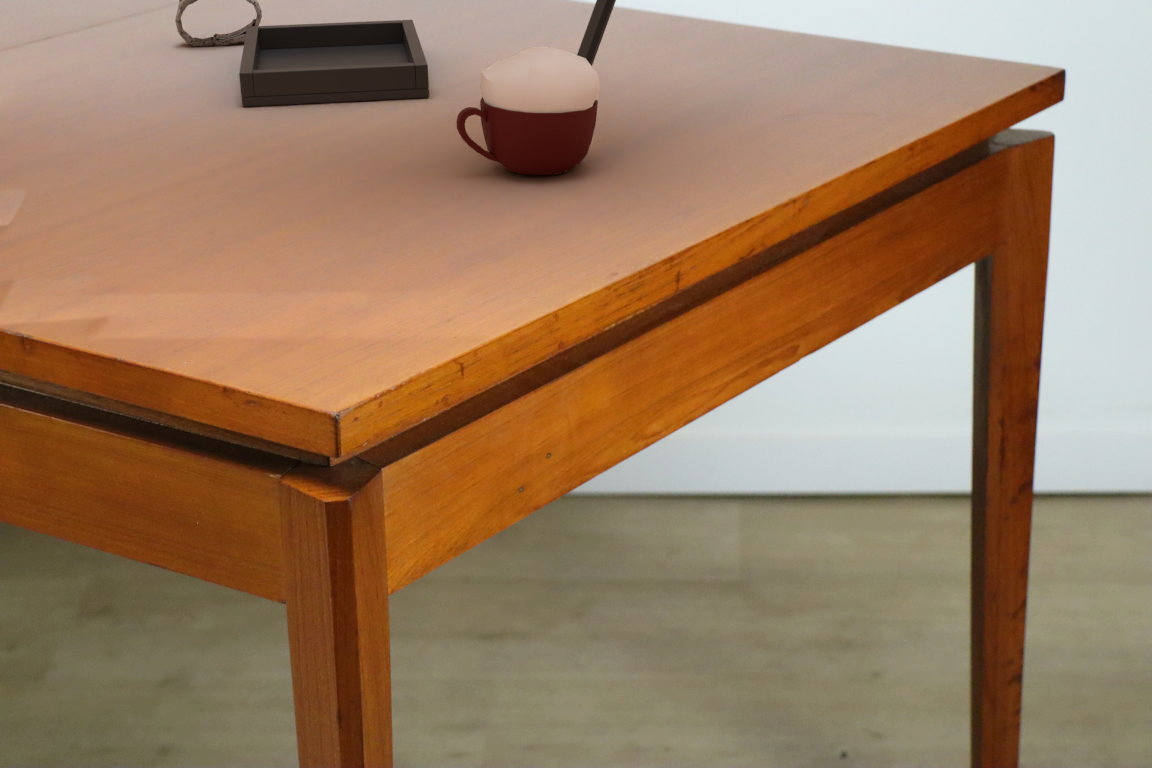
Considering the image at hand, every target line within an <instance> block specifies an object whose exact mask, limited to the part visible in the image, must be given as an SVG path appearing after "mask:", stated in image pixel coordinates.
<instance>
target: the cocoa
mask: <svg viewBox="0 0 1152 768" xmlns="http://www.w3.org/2000/svg"><path fill="white" fill-rule="evenodd" d="M616 1H617V0H596V1H595V4H594V7H593V10H592V13H591V15H590V18H589V20H588V24H587V26H586V29H585V32H584V35H583V37H582V39H581V43H580V46H579V49H578V51H577V54H575V53H572V52H569V51H567V50H564V49H560V48H557V47H552V46H549V45H546V46H541V45H538V46H537V45H536V46H531V47H526V48H523V49H521V50H520V51H518V52H517V53H515V54H514V55H513V56H509V57H506V58H503V59H499V60H496V61H495V62H494V63H493V64H491V65H488V67H486V68H484V69H483V70H481V71H480V82H479V89H480V93H481V96H482V97H481V99H480V100H479V107H480V109H479V108H478V107H473V106H468V107H464V108H463V109H461V110H460V112H459V113H458V114H457V116H456V117H457V118H456V130H457V132H458V134H459V137H460V138H461V140H462V141H464V143H465V144H467V146H468V147H469V148H471V149H472V150H473V151H474V152H476V153H477V154H478V155H480V156H482V157H484V158H485V159H487V160H489V161H493V162H496V163H498V164H499V165H501V166H502V167H503V168H505V170H507V171H510V172H513V173H516V174H521V175H529V176H553V175H560V174H561V175H562V174H565V173H566V172H570V171H571V170H572V169H574V168H576V167H577V166H578V165H580V164H581V163H582V162H583V160H584V159H585V158H586V156H587V155H588V153H589V149H590V147H591V145H592V141H593V137H594V133H595V129H596V124H597V114H598V103H599V101H598V100H597V98H598V96H599V94H600V91H601V89H600V88H601V83H600V79H599V75H598V72H597V71H596V70H595V68H594V67H593V64H594V61H595V58H596V56H597V54H598V51H599V48H600V46H601V42H602V39H603V38H604V34H605V32H606V29H607V26H608V24H609V20H610V18H611V15H612V12H613V10H614V7H615V4H616ZM471 116H477V117H480V124H481V128H482V133H483V138H484V141H485V145H486V149H487V150H485V149H484V148H483V147H482V146H480V145H479V144H478V143H477V142H475V140H473V139H472V138H471V137H470V135H469V134H468V132H467V130H466V121H467V119H468V118H469V117H471Z"/></svg>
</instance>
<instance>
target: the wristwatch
mask: <svg viewBox="0 0 1152 768" xmlns="http://www.w3.org/2000/svg"><path fill="white" fill-rule="evenodd" d="M245 1H246V2H247V3H249V4H251V5H253V8H254V10H255V12H256V13H255V14H256V17H255V18H253V19H252V20H251V22H249V23H248V24H246V25H245V26H243V27H242V28H240V29H237V30H235V31H233V32H229V33H228V32H227V33H214V34H213V36H210V37H206V38H199V37H192V36H191V34H189V33H188V32H187V31H186V30H184V28H183V24H182V15H183V13H184V12H185V10H186V9H187V7H188V6H190V5H192V4H194V3H196V2H198V0H179V1H178V5H177V10H176V15H175V20H174V21H175V26H176V29H177V32H178V34H179V36H180V37H181V38H182V39H183V40H184V41H185V42H186V43H187V44H189V45H191V46H192V47H193V48H194V47H213V46H215V47H217V46H219V47H220V46H222V47H223V46H230V45H231V46H233V45H238V44H241V43H244V42H245V37H246V31H247V27H249V26H258V27H259V26H260V23H261V21H262V17H263V13H262V12H263V11H262V8H261V6H260V4H259V2H258V0H245Z"/></svg>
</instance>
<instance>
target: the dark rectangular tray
mask: <svg viewBox="0 0 1152 768" xmlns="http://www.w3.org/2000/svg"><path fill="white" fill-rule="evenodd" d="M243 43H244V44H243V50H242V55H241V61H240V67H239V73H238V76H239V85H240V95H241V104H242V107H243V108H246V107H247V108H248V107H266V106H283V105H284V106H288V105H305V104H306V105H307V104H326V103H327V104H329V103H346V102H347V103H350V102H366V101H368V102H369V101H390V100H408V99H409V100H410V99H411V100H412V99H428V98H430V89H429V88H430V84H429V83H430V82H429V65H428V61H427V59H426V56H425V54H424V49H423V47H422V44H421V41H420V38H419V34H418V32H417V29H416V25H415V22H414V20H413V19H402V20H401V19H396V20H395V19H394V20H371V21H370V20H369V21H368V20H367V21H347V22H345V21H344V22H326V23H325V22H323V23H322V22H321V23H301V24H297V23H296V24H277V25H275V24H274V25H273V24H272V25H259V26H249V27H247V31H246V37H245V41H244V42H243Z"/></svg>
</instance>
